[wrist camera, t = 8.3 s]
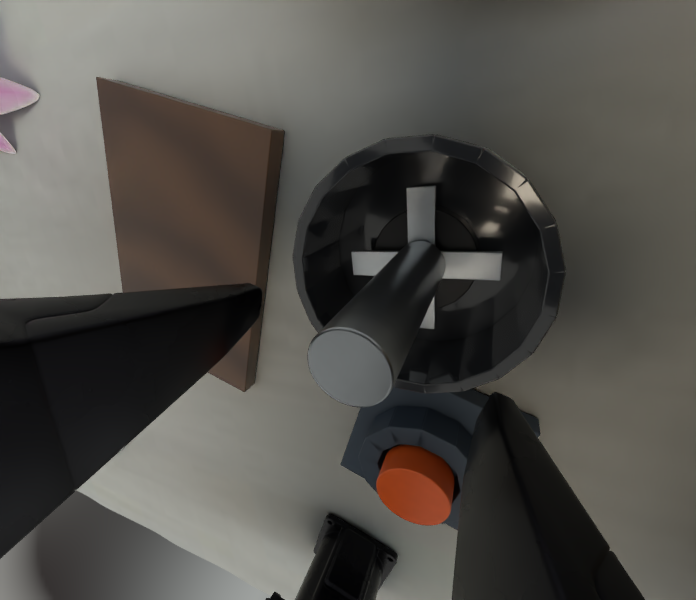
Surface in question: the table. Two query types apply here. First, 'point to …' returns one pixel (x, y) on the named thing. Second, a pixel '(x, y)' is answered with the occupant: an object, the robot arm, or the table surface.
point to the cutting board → (191, 200)
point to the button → (416, 485)
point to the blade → (398, 298)
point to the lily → (13, 104)
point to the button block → (419, 433)
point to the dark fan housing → (492, 234)
